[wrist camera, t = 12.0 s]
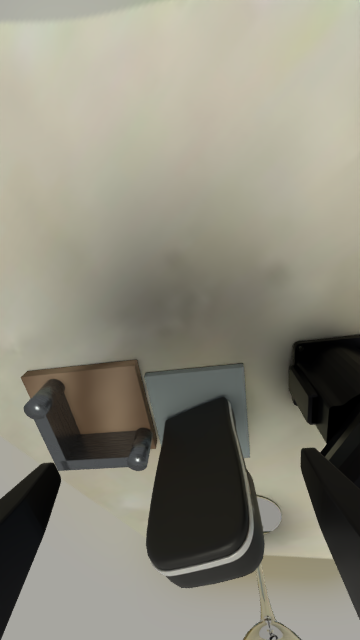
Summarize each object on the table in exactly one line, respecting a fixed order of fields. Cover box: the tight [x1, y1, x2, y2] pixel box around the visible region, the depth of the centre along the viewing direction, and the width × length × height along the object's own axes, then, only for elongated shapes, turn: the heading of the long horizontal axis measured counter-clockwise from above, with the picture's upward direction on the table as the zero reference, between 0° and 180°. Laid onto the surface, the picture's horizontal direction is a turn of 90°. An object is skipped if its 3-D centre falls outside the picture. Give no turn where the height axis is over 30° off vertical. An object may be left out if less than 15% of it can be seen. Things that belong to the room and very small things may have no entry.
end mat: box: [144, 363, 250, 458], centre depth 24 cm, size 9×11×1 cm
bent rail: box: [24, 379, 153, 471], centre depth 22 cm, size 9×8×3 cm
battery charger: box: [146, 397, 264, 588], centre depth 18 cm, size 7×4×11 cm, turn 120°
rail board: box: [21, 360, 157, 449], centre depth 24 cm, size 11×10×1 cm
